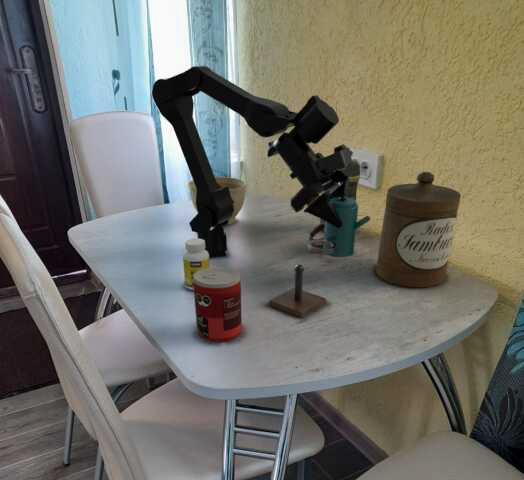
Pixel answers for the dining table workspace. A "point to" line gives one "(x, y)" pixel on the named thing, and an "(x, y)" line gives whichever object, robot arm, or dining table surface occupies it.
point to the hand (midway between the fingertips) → (347, 222)
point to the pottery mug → (315, 231)
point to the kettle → (340, 230)
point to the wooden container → (417, 233)
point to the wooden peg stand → (297, 298)
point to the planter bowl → (236, 192)
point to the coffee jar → (352, 181)
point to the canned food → (218, 303)
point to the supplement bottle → (194, 260)
